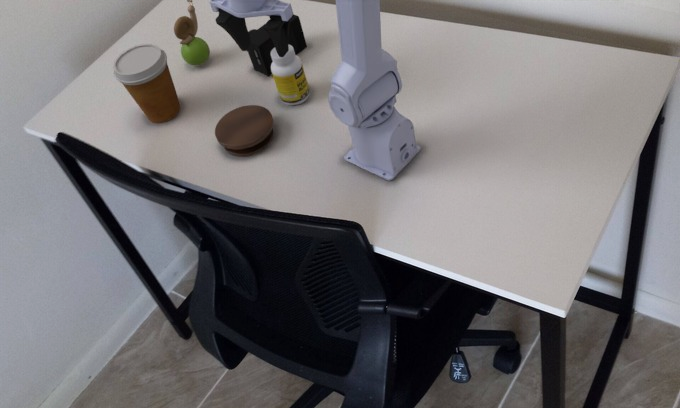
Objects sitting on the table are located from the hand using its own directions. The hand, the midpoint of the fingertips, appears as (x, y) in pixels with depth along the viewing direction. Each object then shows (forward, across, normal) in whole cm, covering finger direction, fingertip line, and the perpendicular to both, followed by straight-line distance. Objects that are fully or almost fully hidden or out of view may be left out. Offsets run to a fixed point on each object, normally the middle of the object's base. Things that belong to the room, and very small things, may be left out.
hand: (265, 50), depth 113 cm
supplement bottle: (+10, -3, -1) cm, 11 cm away
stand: (+10, 0, +11) cm, 15 cm away
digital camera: (+10, +6, -10) cm, 16 cm away
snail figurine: (+10, +22, -6) cm, 25 cm away
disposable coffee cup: (+10, +20, +9) cm, 25 cm away
